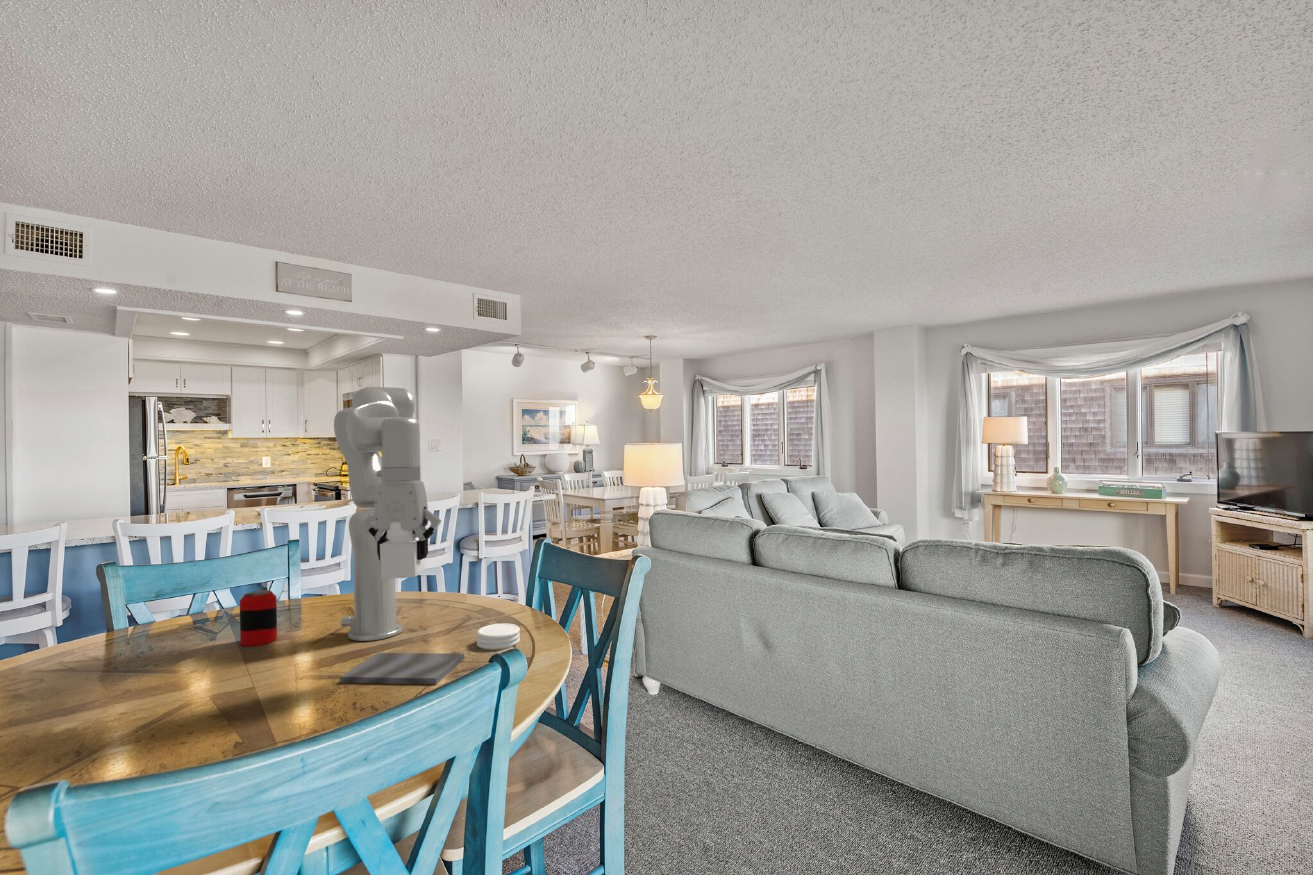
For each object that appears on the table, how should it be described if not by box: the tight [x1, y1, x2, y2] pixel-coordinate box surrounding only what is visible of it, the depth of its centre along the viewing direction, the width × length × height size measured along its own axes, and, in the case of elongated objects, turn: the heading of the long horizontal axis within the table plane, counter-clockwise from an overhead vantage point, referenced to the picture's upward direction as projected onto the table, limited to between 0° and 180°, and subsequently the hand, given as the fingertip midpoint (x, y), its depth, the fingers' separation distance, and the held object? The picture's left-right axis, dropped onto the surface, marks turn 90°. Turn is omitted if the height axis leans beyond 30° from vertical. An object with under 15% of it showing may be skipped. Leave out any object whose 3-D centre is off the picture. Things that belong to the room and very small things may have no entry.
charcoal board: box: [339, 652, 465, 685], centre depth 130 cm, size 20×14×1 cm
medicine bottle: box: [380, 522, 426, 579], centre depth 131 cm, size 7×7×12 cm
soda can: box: [239, 589, 278, 648], centre depth 151 cm, size 8×8×12 cm
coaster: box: [476, 622, 521, 651], centre depth 147 cm, size 10×10×4 cm
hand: (402, 558), depth 131 cm, fingers closed on medicine bottle, 7 cm apart
